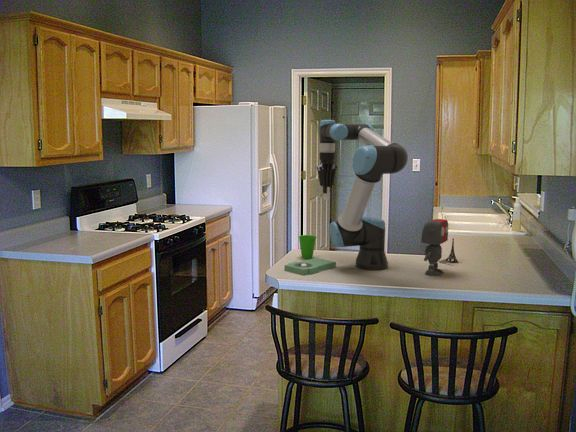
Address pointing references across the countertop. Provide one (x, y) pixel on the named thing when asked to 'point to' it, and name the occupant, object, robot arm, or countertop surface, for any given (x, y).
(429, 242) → the toy robot
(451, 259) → the eiffel tower figurine
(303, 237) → the cup
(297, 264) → the green flat slab
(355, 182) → the robot arm
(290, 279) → the countertop surface
